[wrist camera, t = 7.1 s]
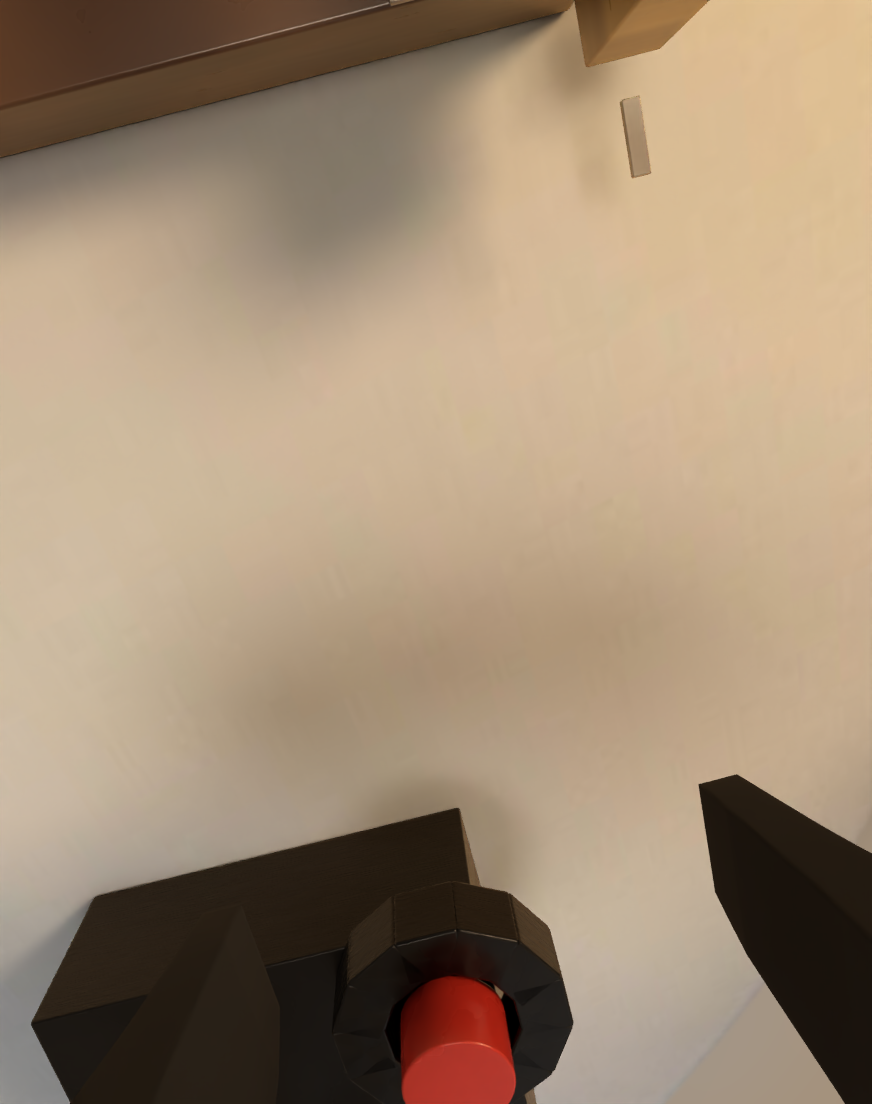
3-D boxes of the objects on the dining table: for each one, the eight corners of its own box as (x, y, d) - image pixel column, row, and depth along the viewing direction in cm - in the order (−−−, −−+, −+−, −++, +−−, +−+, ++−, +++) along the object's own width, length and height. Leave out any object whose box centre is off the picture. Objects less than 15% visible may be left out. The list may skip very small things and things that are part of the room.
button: (492, 964, 18) (502, 1030, 16) (514, 1043, 19) (527, 1116, 17) (388, 988, 18) (388, 1058, 16) (414, 1068, 19) (417, 1142, 17)
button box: (505, 759, 23) (545, 907, 17) (577, 1050, 26) (631, 1257, 20) (79, 864, 23) (-23, 1046, 17) (203, 1140, 26) (151, 1371, 21)
